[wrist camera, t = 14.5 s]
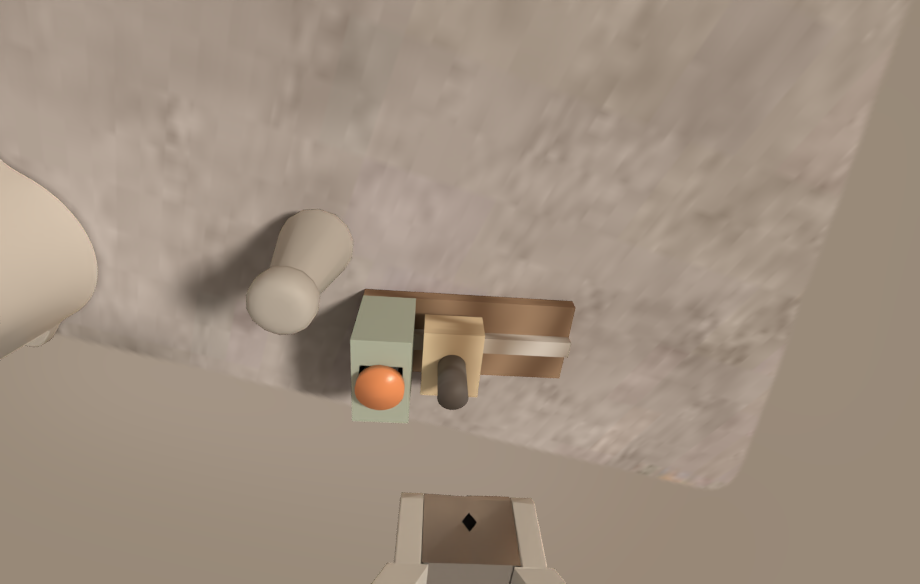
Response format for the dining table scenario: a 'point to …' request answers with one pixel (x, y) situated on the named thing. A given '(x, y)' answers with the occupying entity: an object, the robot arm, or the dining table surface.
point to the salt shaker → (299, 271)
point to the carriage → (452, 358)
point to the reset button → (380, 387)
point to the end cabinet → (383, 350)
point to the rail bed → (501, 330)
